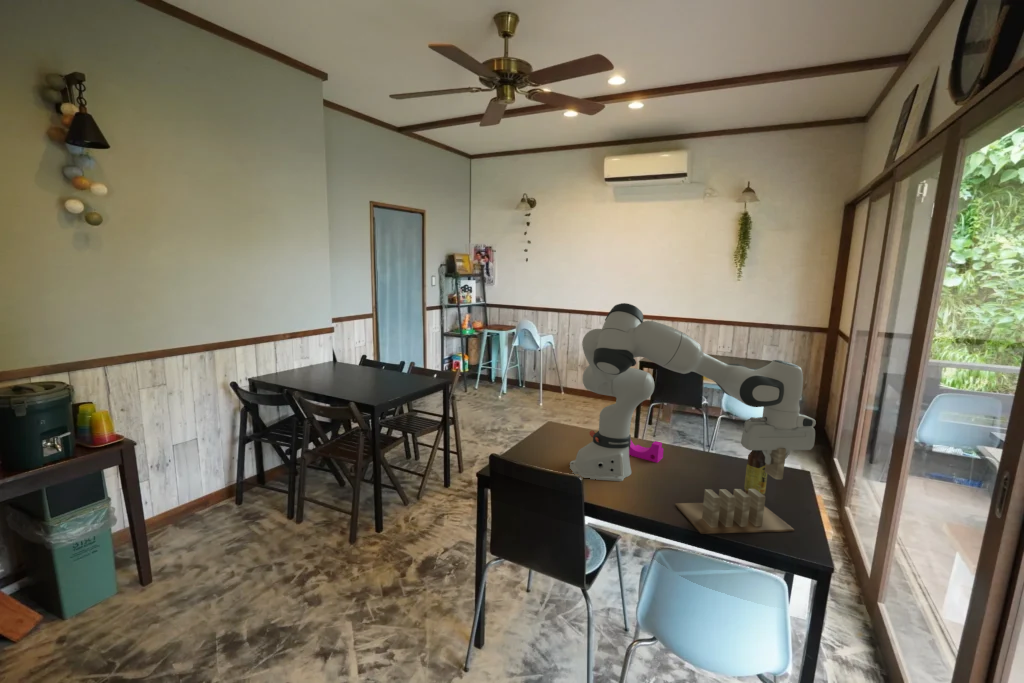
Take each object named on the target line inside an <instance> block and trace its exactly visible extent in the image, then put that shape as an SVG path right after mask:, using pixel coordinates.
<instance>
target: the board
mask: <svg viewBox="0 0 1024 683" xmlns="http://www.w3.org/2000/svg"><path fill="white" fill-rule="evenodd" d="M703 503H704V502H679V503H674V504H675V507H676V508H677V509H678V510H679V511H680V512H681V513H682V514H683V516H685V517H686V519H687V520H688V521H689V522H690V523H691V524H692V526H693V527H694V528H695V529H696V530H697V532H698V533H700V534H706V535H707V534H709V535H710V534H737V533H739V534H740V533H744V534H746V533H773V532H775V533H776V532H779V533H781V532H783V533H784V532H795V528H793V527H792V526H791V525H790V524H788V523H787V521H785V520H783V519H782V518H780V516H779V515H777V514H775V513H774V512H773V511H772V510H770V509H769V508H768V507H767V506H766V505H765V506H764V514H763V522H762V526H755V525H753V524H752V523H751V522H750V521H749V520H748V525H747V527H741V526H739V525H738V524H737V523H736V522H735V521H734V520H733V527H725V526H724V525H723V524H722V523H721V522H720V521H719V520H718V527H710V526H709V525H708V524H707V523H706V522H705V521H704V520H703V519H702V513H703Z"/></svg>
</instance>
